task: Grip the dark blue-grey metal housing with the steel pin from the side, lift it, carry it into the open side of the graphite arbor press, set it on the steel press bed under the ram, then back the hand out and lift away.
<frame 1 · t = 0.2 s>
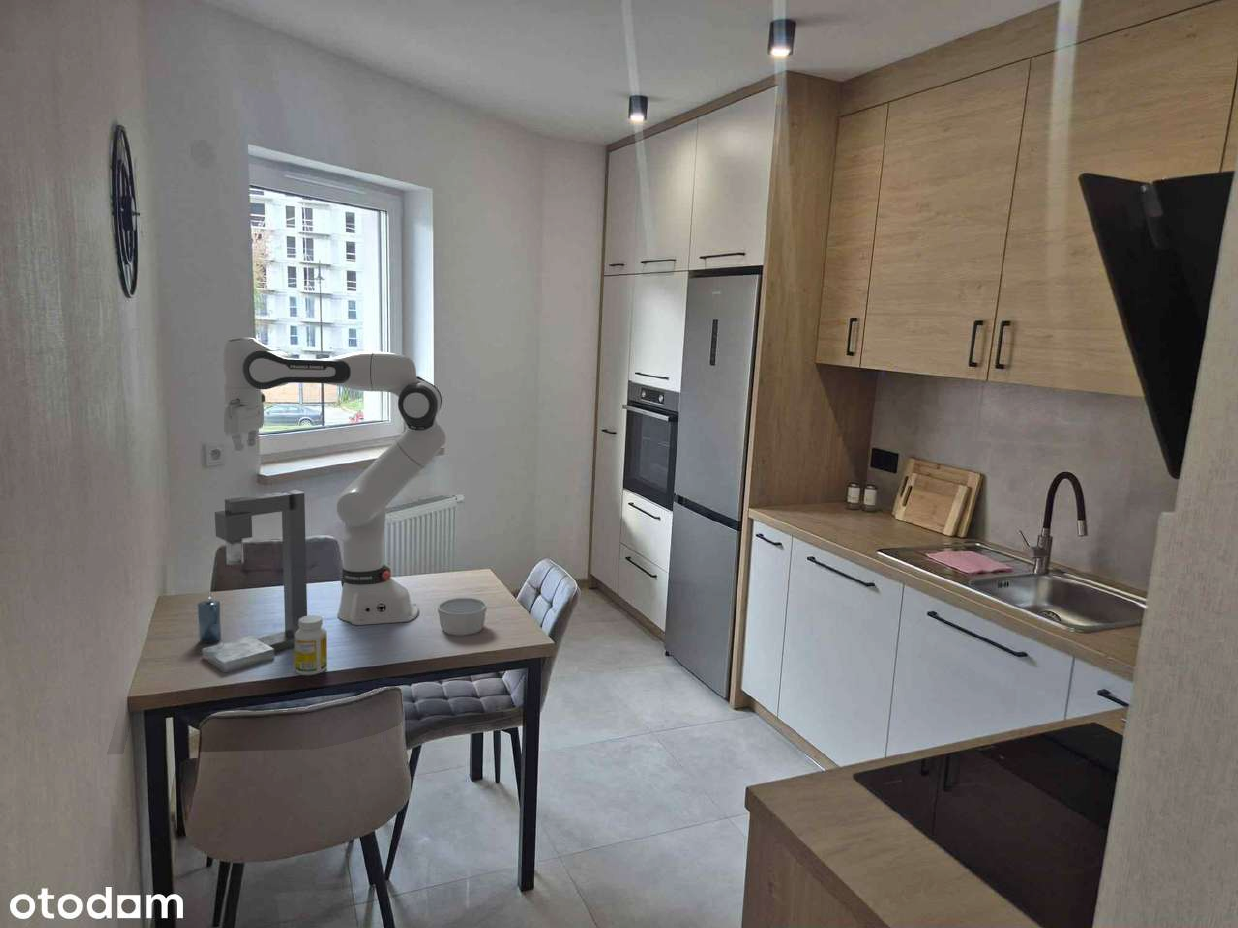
hand: (245, 448, 214), 48 cm above the table, tool pointing down, fingers open, 8 cm apart
ramekin: (462, 629, 218), on the table
supplement bottle: (311, 670, 189), on the table
housing: (210, 640, 203), on the table
press: (238, 658, 193), on the table
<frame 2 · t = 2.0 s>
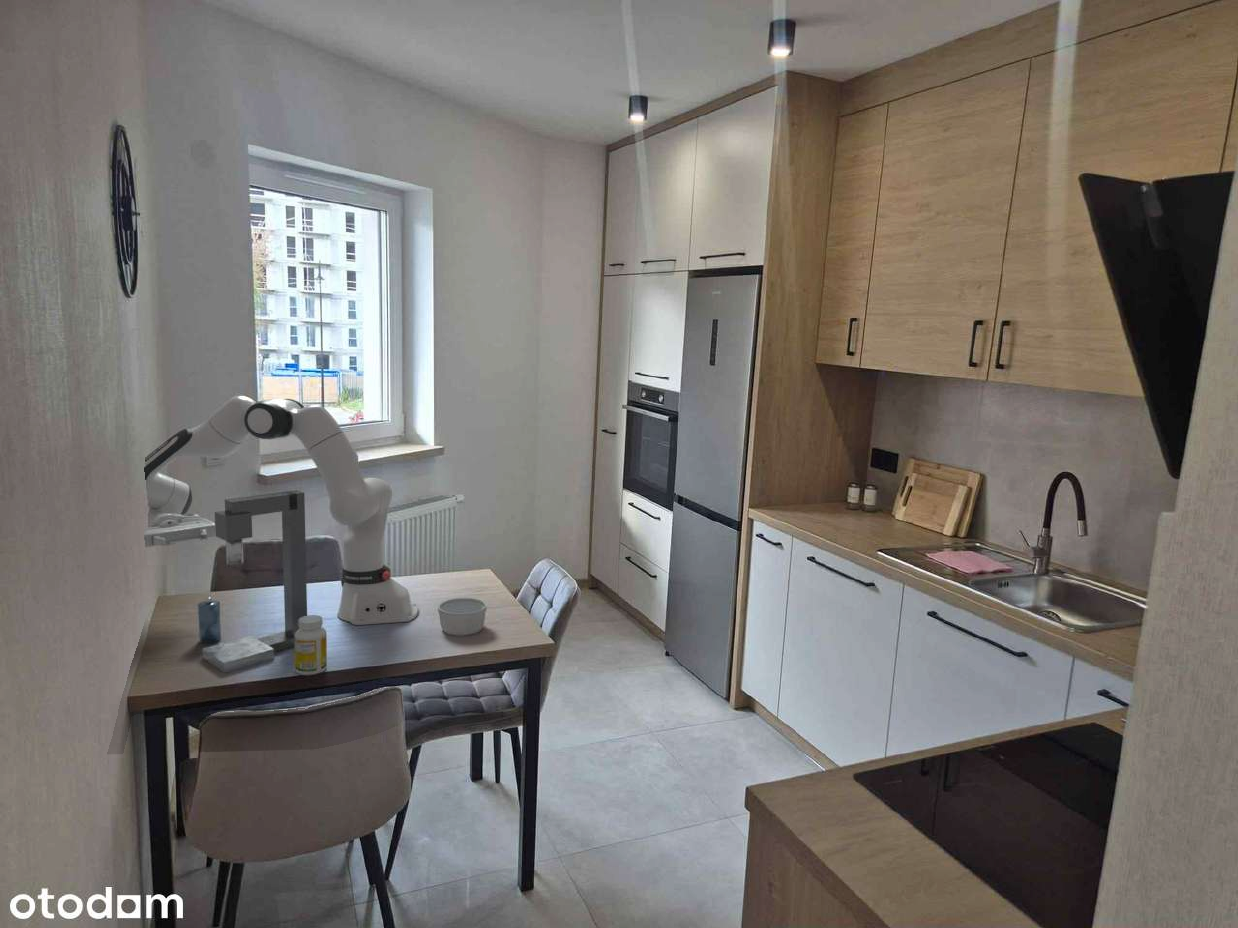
hand: (186, 539, 207), 24 cm above the table, tool horizontal, fingers open, 8 cm apart
nothing on the table moved.
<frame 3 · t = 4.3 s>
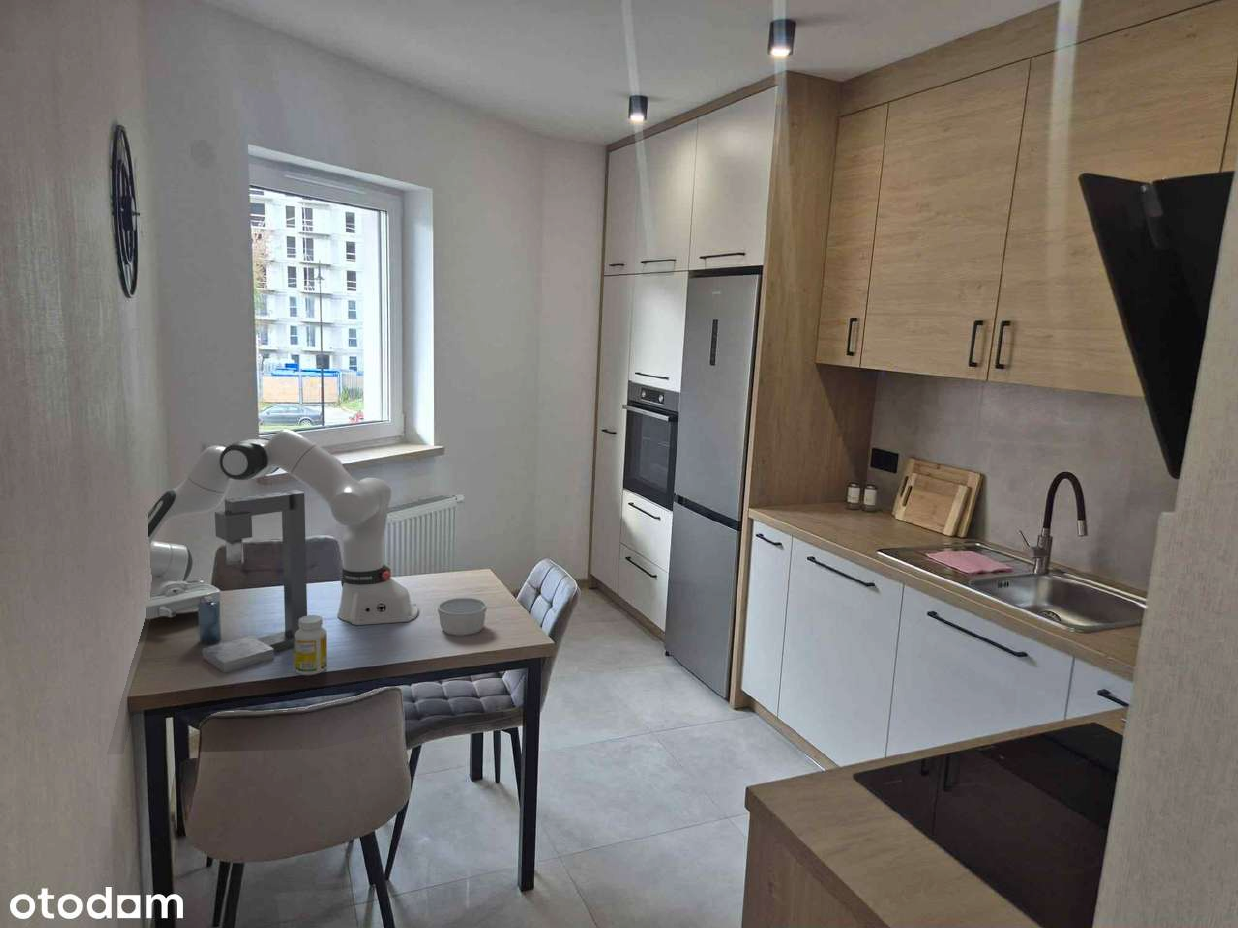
hand: (191, 609, 209), 5 cm above the table, tool horizontal, fingers open, 8 cm apart
nothing on the table moved.
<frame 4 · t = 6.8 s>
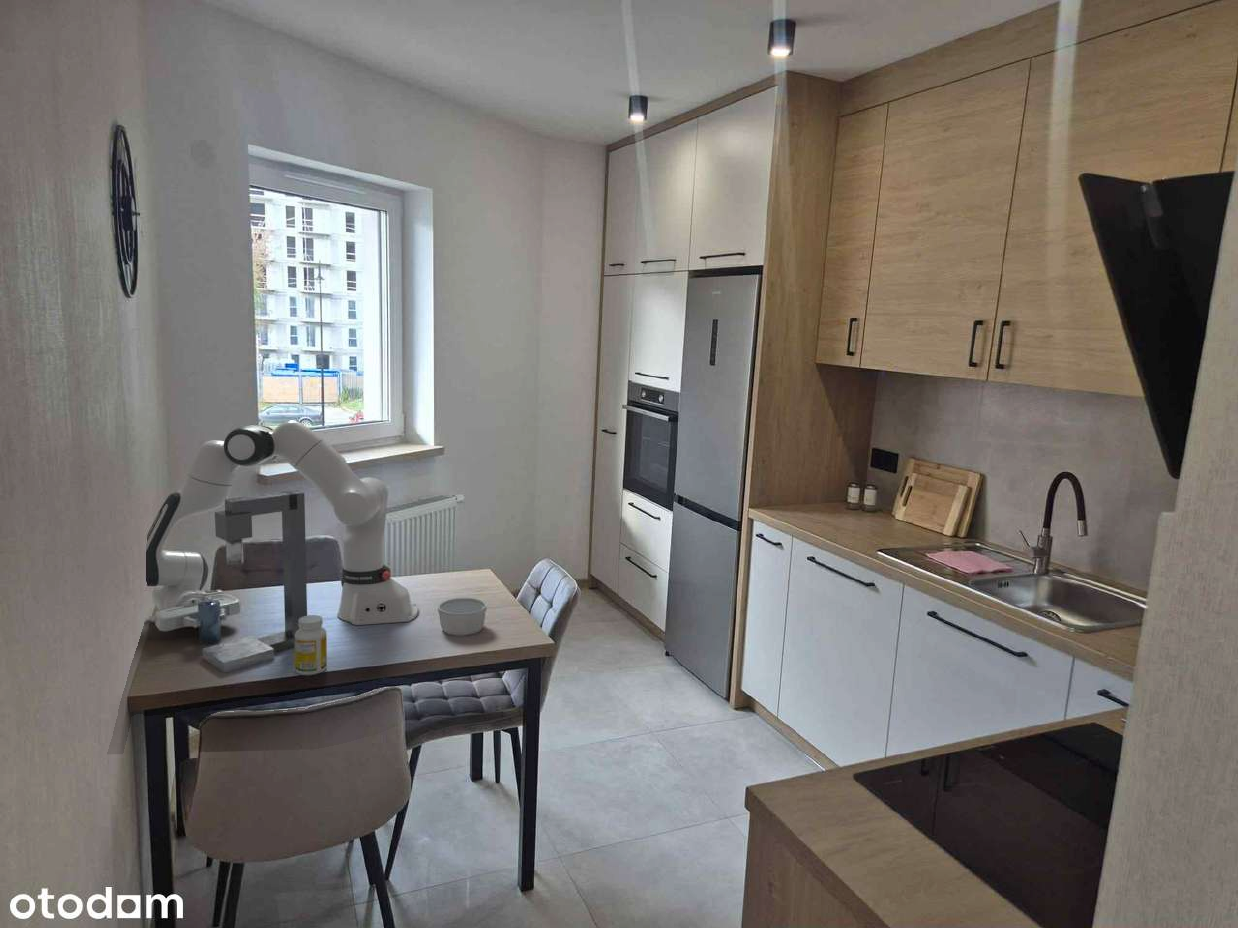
hand: (211, 620, 202), 6 cm above the table, tool horizontal, fingers closed on housing, 5 cm apart
housing: (210, 640, 203), on the table, touching gripper
everything else where it was.
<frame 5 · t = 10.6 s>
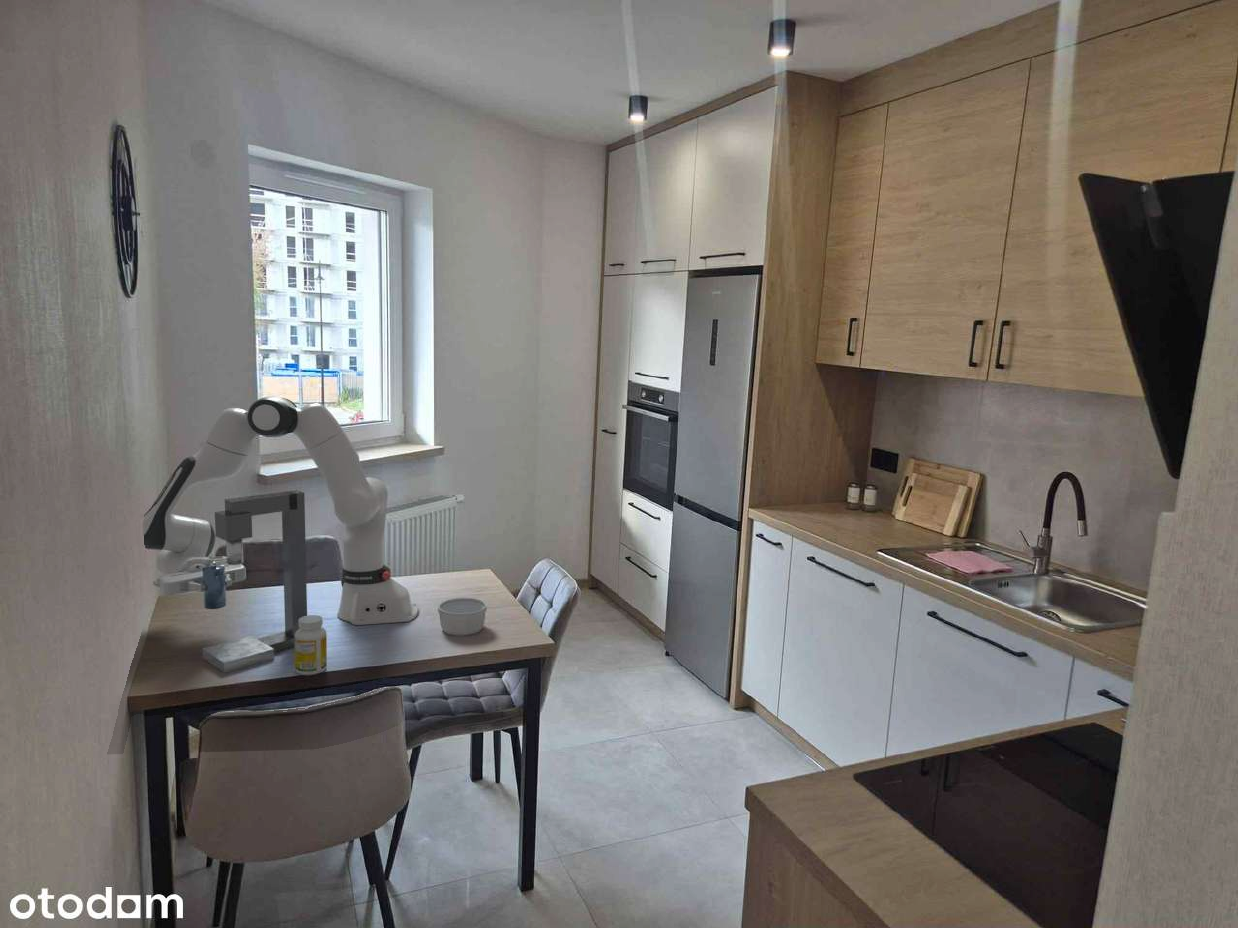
hand: (216, 585, 198), 16 cm above the table, tool horizontal, fingers closed on housing, 5 cm apart
housing: (215, 605, 199), point 10 cm above the table, touching gripper
everything else where it was.
when the fingers open (9 cm above the table, at t = 14.4 s): housing drops 1 cm, resting on press.
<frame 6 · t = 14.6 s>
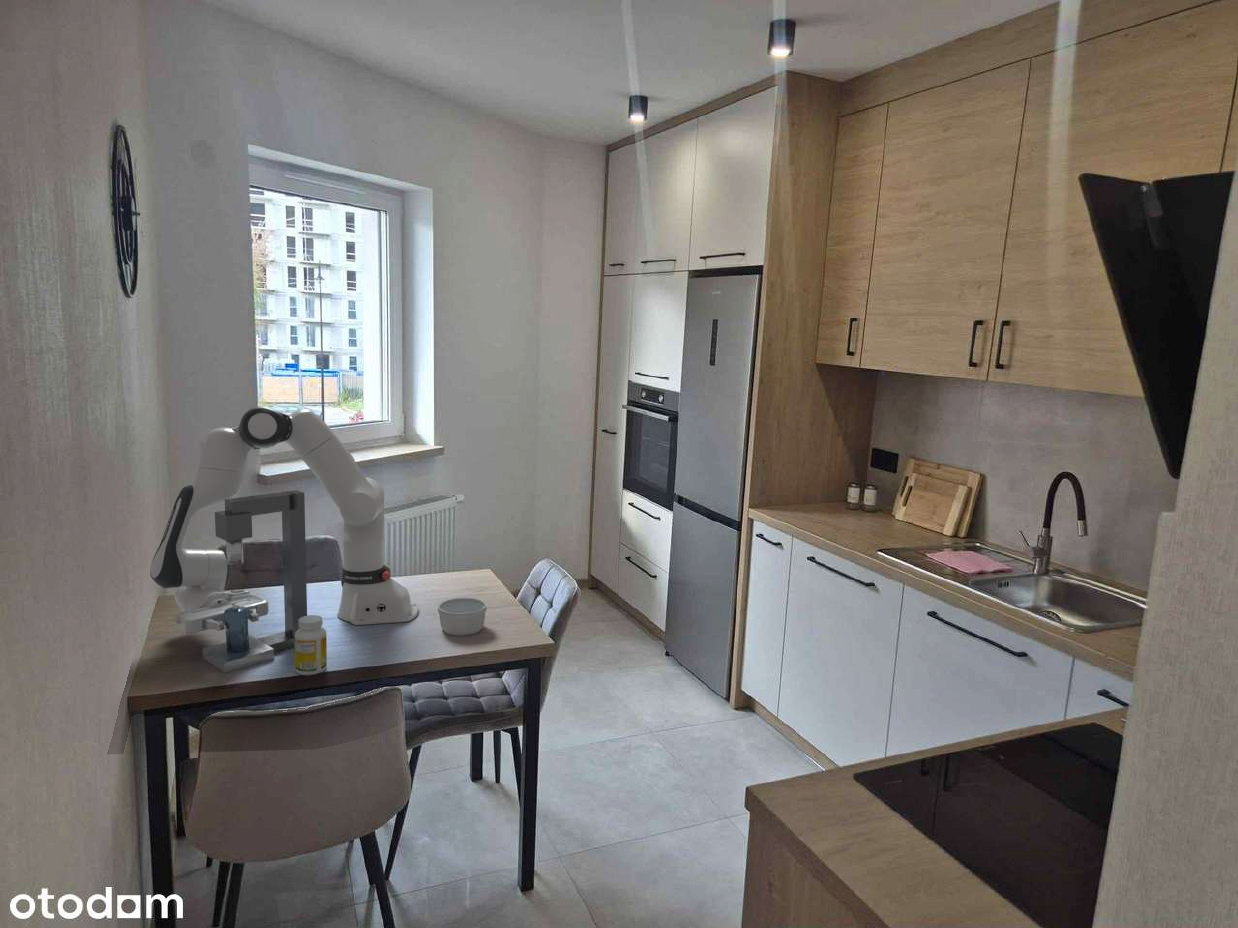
hand: (238, 622, 191), 9 cm above the table, tool horizontal, fingers open, 7 cm apart
housing: (238, 648, 193), point 3 cm above the table, touching press
everything else where it was.
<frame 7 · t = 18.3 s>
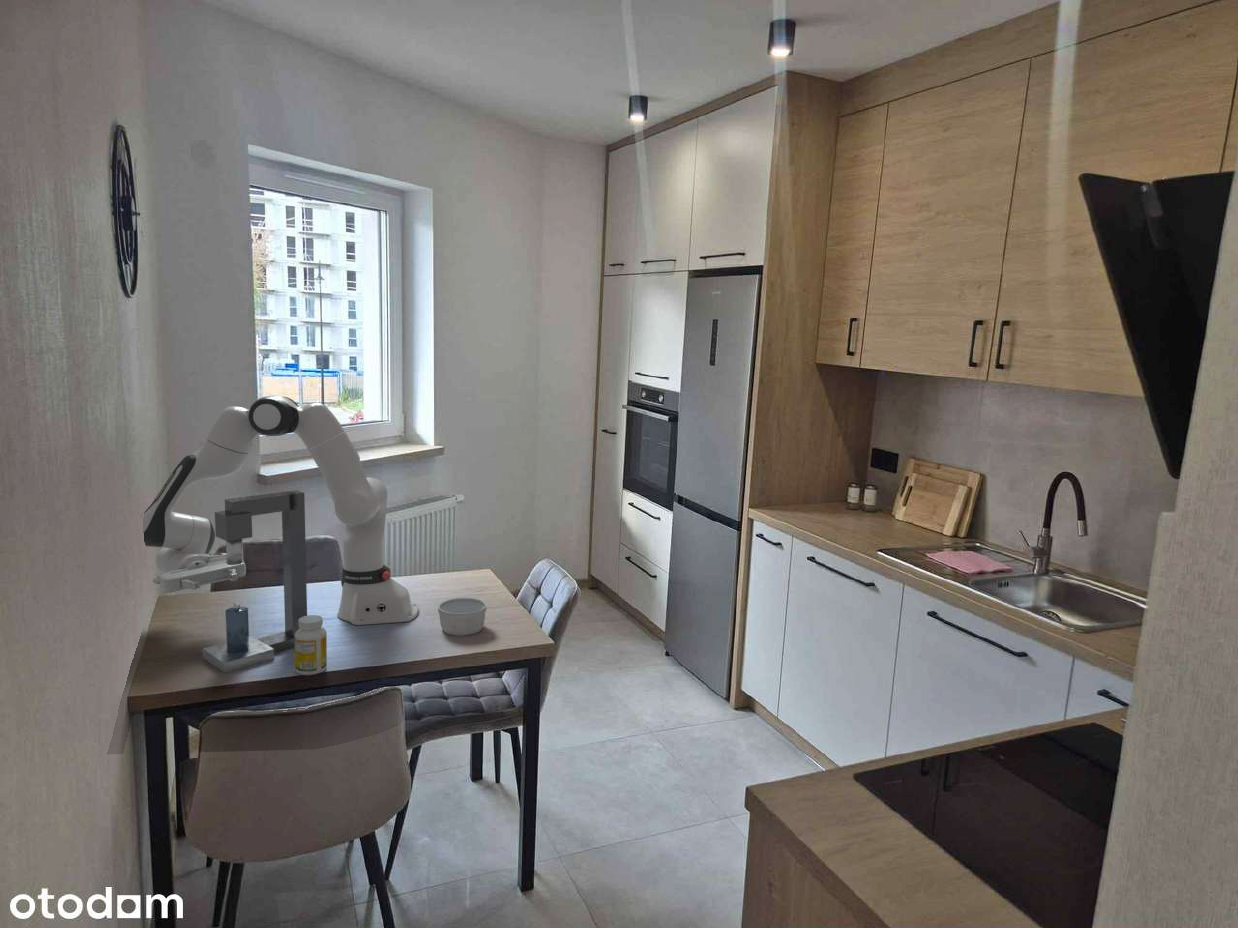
hand: (216, 581, 198), 17 cm above the table, tool horizontal, fingers open, 8 cm apart
nothing on the table moved.
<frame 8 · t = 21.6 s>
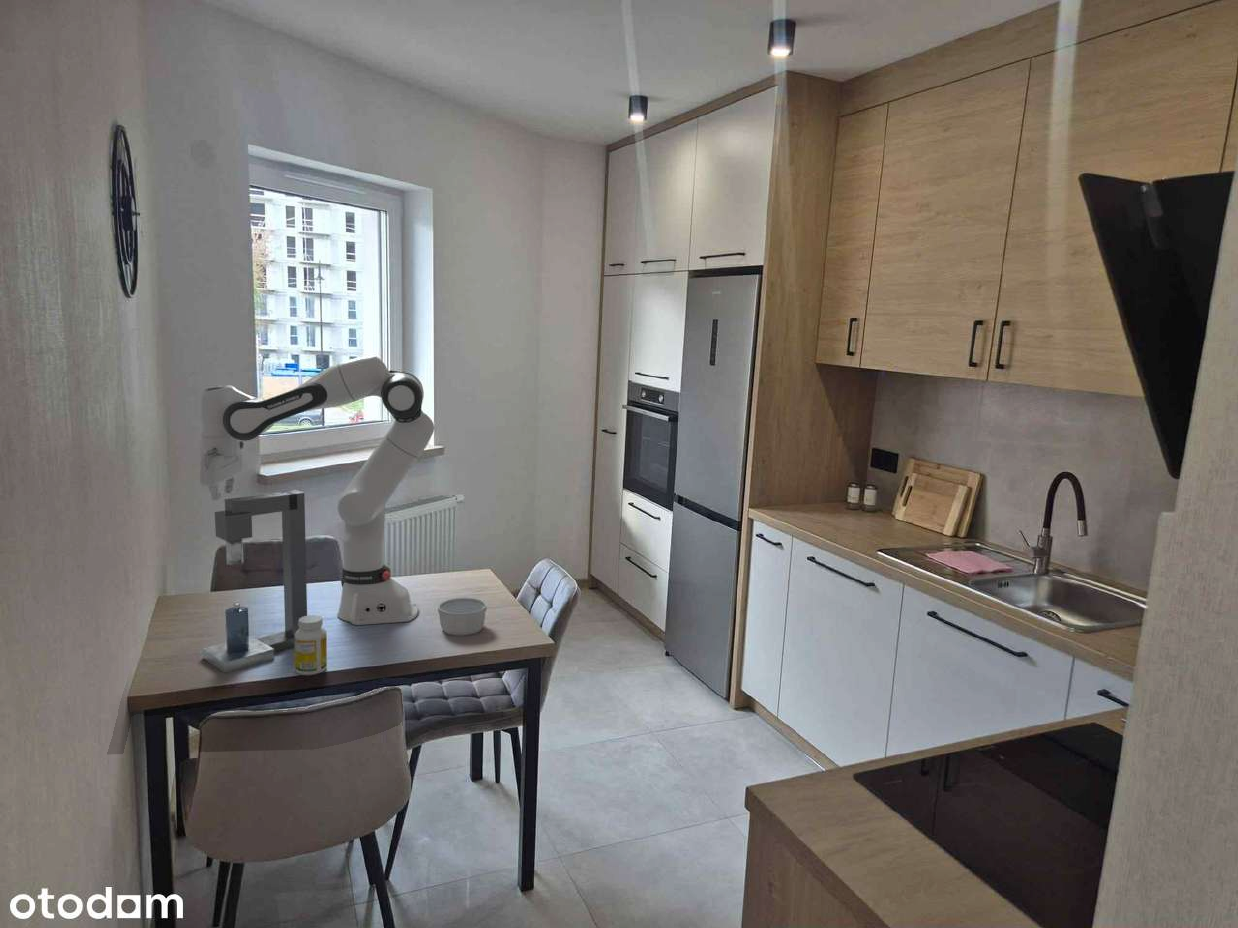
hand: (222, 496, 212), 35 cm above the table, tool pointing down, fingers open, 8 cm apart
nothing on the table moved.
at the end: housing inside the target area on the press (0.0 cm from its centre), point 2.5 cm above the press's base; housing tilted 0°; the gripper is holding nothing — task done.
